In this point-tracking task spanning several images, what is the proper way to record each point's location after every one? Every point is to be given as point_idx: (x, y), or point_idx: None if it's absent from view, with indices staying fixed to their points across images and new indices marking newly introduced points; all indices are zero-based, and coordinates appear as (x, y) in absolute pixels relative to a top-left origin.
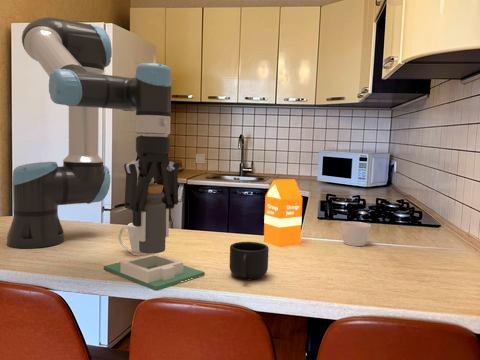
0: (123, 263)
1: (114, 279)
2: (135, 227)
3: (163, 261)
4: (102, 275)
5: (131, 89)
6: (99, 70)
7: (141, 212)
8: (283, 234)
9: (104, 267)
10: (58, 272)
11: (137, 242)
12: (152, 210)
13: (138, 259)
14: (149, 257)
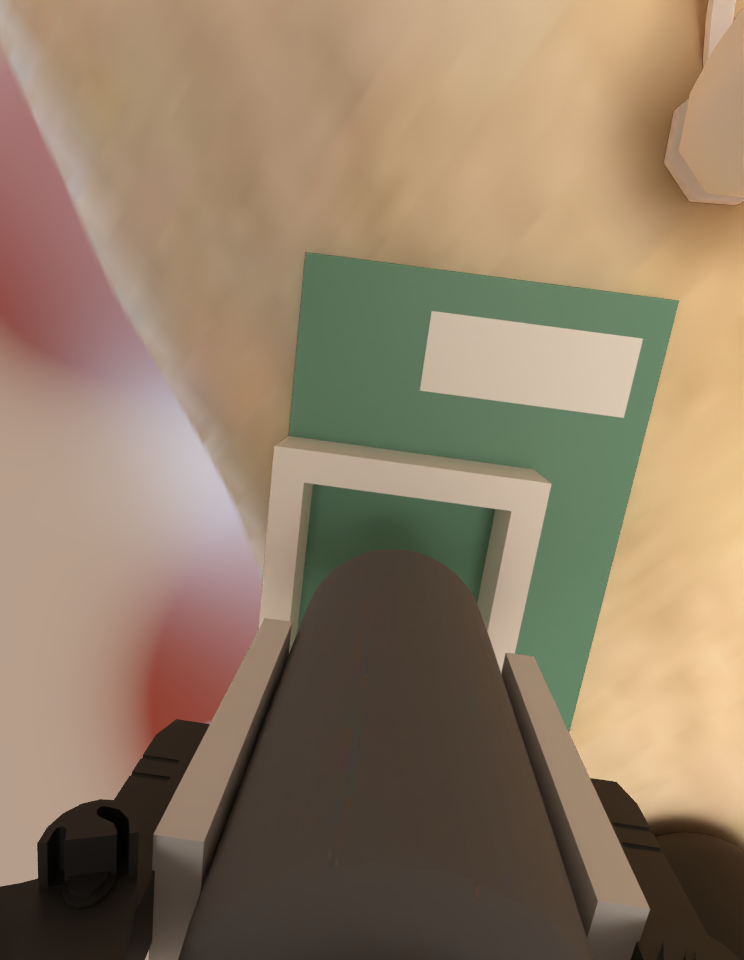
0: (271, 477)
1: (239, 449)
2: (231, 683)
3: (492, 583)
4: (237, 346)
5: None
6: None
7: (151, 942)
8: None
9: (305, 264)
10: (95, 82)
11: (715, 144)
12: None
13: (381, 492)
14: (467, 502)
